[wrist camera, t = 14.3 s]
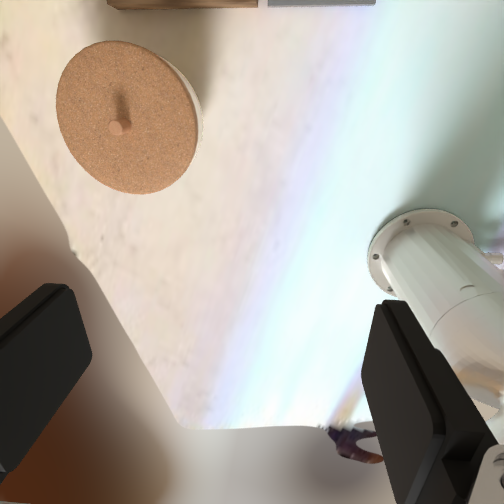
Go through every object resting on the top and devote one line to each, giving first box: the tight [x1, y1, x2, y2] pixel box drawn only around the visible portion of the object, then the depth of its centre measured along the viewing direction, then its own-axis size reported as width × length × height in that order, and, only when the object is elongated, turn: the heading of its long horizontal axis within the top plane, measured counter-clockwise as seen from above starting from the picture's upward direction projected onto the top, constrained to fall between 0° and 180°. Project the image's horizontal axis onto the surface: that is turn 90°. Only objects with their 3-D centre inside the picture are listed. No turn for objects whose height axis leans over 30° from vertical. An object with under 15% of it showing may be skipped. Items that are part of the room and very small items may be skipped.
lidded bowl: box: [56, 41, 203, 194], centre depth 31 cm, size 13×13×11 cm
